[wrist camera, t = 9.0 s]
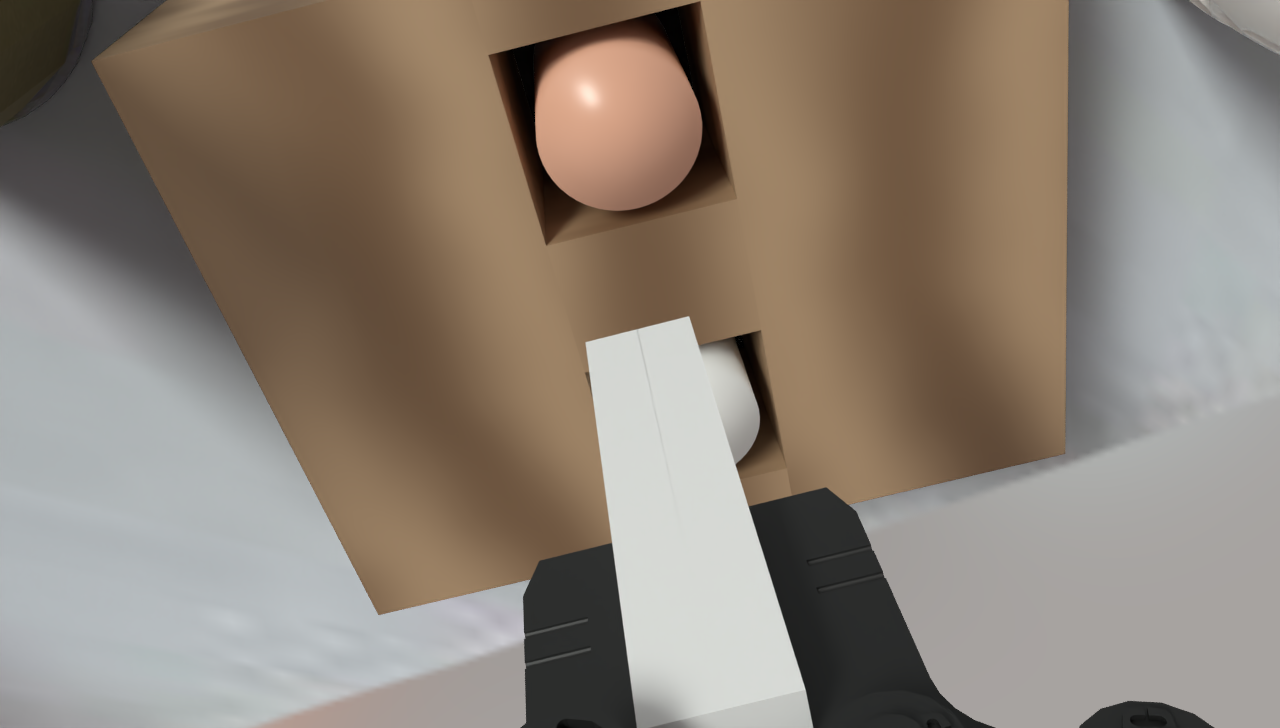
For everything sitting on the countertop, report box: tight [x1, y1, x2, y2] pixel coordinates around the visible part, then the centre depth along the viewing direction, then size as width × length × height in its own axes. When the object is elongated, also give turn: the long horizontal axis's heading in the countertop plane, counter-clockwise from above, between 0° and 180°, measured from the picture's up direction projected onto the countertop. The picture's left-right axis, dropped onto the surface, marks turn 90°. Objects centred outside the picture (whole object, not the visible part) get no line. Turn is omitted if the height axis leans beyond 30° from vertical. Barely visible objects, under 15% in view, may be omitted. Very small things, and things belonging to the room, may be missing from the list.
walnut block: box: [91, 0, 1069, 615], centre depth 30 cm, size 22×18×7 cm
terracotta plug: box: [533, 13, 702, 211], centre depth 27 cm, size 4×4×6 cm
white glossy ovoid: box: [698, 337, 760, 464], centre depth 32 cm, size 4×4×6 cm
